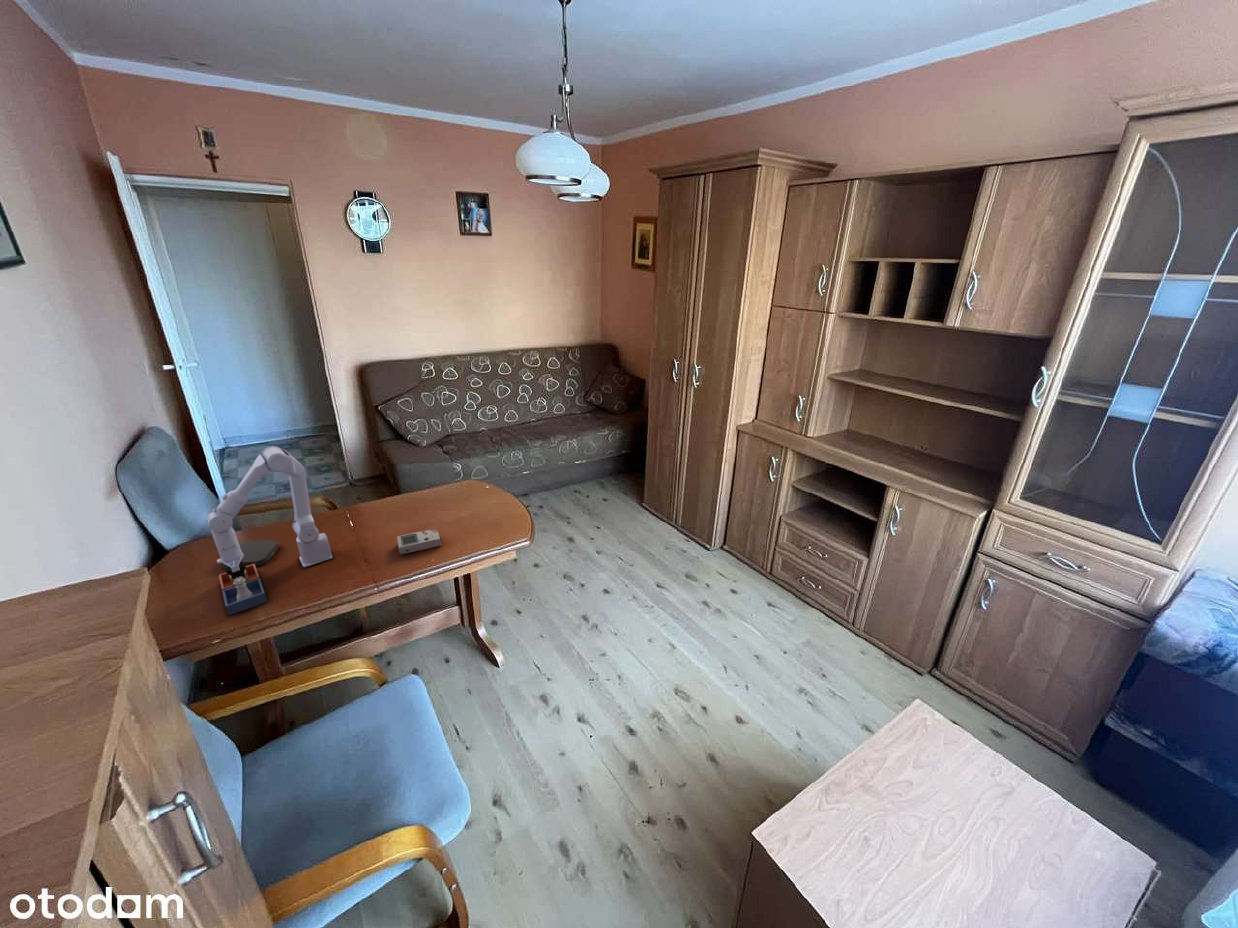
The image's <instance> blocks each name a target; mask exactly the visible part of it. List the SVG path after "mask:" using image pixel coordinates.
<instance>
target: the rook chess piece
mask: <svg viewBox="0 0 1238 928" xmlns="http://www.w3.org/2000/svg"><path fill="white" fill-rule="evenodd" d="M245 580H246V579H245V578H243V577H242V578H241V577H239V578H236V580H235V579H234V582H233V584H235V585H236V586H235V587H236V588H237V591H238V594H237V601H240V600H243V599H246V598H248V597H251V596H254V595H253V593H252V592H251V591H250V590H248V588H247V587H246V583H245Z"/></svg>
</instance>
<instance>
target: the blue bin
mask: <svg viewBox="0 0 1238 928" xmlns="http://www.w3.org/2000/svg"><path fill="white" fill-rule="evenodd" d="M246 587H247V588H248V590H250V591H251V592H252V593H253V595H254V596H251V597H248V598H246V599H243V600H240V601H237V594H238V591H237V588H236V587H235V586H234V587H231V588H228V589H225V590H222V589H221V592H222V598H223V600H224V605H225V609H226V611H227V613H228V616H231V615H234V614H237V613H239V612H242V611H245V610H248V609H250V608H251V609H252V608H254V607H256V606H259V605H262V604H264V603H268V601H269V600H268V599H267V595H266V593H265V589H264V586H263V584H262V581H261V578H260V577H259V579H256V580H253V581H250V582H247V583H246Z"/></svg>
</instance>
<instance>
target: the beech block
mask: <svg viewBox="0 0 1238 928" xmlns="http://www.w3.org/2000/svg"><path fill="white" fill-rule="evenodd" d="M244 575H245V579H246V580H249V579H248V576H247V573H246V570H245V572H244ZM229 576H230V575H229ZM230 580H231V582H232V585H234V584H233V582H234V580H233V578H232V577H231V576H230ZM246 580H245V581H246Z"/></svg>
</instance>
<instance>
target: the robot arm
mask: <svg viewBox="0 0 1238 928" xmlns="http://www.w3.org/2000/svg"><path fill="white" fill-rule="evenodd" d="M248 469H249V470H248V471H247V472H246V474H245V475H244V477H243V478H242V480H241V481H240V483H239V484H238V485H237V487H236V489H234V490H230V491H228V492H227V493H225V494H223V495H222V496H221V499H222V500H221V501H220V503H218V505H217V506H216V507H214V508H213V509H212V510H211V511H212V512H210V513H208V514H207V516H206V523H207V525H208V528H209V529H210V530H211V531H210V532H211V534H212V538H213V542H214V544H215V547H216V549H217V552H218V555H219V558H218V559H216V563H217V564H218V565H220V564H222V563H223V564H225V565H227V566H228V568H224V567H223V568H224V573H227V574H229V575H230V576H231V577H232V578H233V580H234V579H235V580H236V578H239V577H241V578H242V577H243V578H245V575H244V572H245V568H246V564H245V563H244V564H242V559H243V556H244V555H243V553H242V551H241V548H240V545H241V544H240V543H239V540H238V537H237V534H236V530H235V529H234V528H233V525H234V522H233V519H235V518H236V516H237V515H238V514H239V513H240V511H241V510H242V508H243V507H244V506H245V504H246V503H247V502H248V498H247V495H249V493H250V491H251V490H252V489H253V488H255V486H256V484H257V483H258V482H259V481H260V480H261V479H262V477H265V476H269V475H273V474H274V473H273V472H277V473H284V474H286V475H288V479H289V486H290V493H291V498H292V499H291V500H292V506H293V511H294V514H293V522H292V525H291V526H292V527H291V528H292V530H293V532H294V533H295V534H296V536H297V537H296V538H295V542H296V544H297V548H298V552H299V555H300V556H299V557H298V559H299V561H300V563H301V565H302V567H303V568H307V567H310V566H313V565H316V564H318V563H322V562H326V561H329V560H331V559H333V554H332V550H331V546H330V543H329V539H328V536H327V535H326V533H325V532H322V533H321V532H320V531H319V529H318V527H317V526H316V525H315V520H314V518H313V515H312V509H311V503H310V497H309V496H310V495H309V489H308V482H307V475H306V468H305V466H303V464H302V463H301V462H299V461H298V460H297V459H296V458H295V457H294V456H293V455H291V454H290V453H289V452H288V451H287V450H286V449H284V448H281V447H279V446H276V445H271V446H267V447H265V448H264V449H263V450H262V452H261V454H259V455H258V456H257V457H255V460H254V462H253V463H252V465H251V466H250V468H248ZM223 564H222V565H223Z"/></svg>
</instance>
